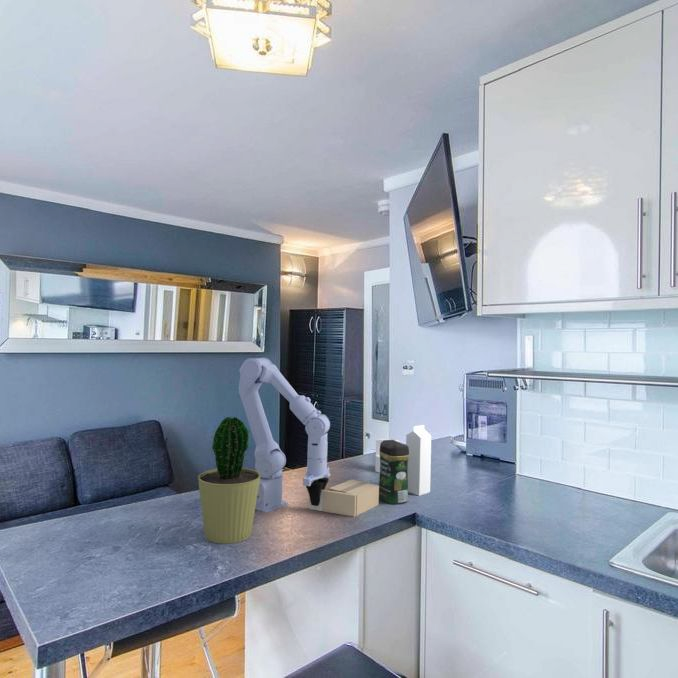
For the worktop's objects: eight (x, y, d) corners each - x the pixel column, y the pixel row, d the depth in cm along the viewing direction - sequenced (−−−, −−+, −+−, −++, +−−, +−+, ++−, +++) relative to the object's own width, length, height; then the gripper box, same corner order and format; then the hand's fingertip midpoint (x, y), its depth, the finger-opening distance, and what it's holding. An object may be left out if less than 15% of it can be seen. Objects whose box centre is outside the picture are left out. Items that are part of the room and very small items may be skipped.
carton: (356, 516, 134) (356, 494, 134) (328, 508, 140) (328, 487, 140) (378, 505, 144) (379, 485, 144) (351, 498, 150) (351, 479, 150)
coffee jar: (374, 497, 152) (375, 438, 152) (395, 494, 155) (397, 437, 155) (389, 507, 143) (391, 445, 143) (412, 503, 146) (413, 443, 146)
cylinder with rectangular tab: (372, 472, 180) (373, 441, 181) (378, 467, 189) (378, 436, 189) (396, 475, 178) (397, 443, 178) (400, 469, 186) (401, 438, 187)
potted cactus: (195, 550, 110) (199, 420, 110) (196, 525, 125) (199, 410, 125) (262, 544, 114) (266, 419, 114) (255, 520, 129) (258, 410, 129)
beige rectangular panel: (354, 516, 133) (355, 495, 133) (309, 509, 138) (309, 488, 138) (355, 515, 134) (356, 494, 134) (310, 508, 139) (311, 487, 139)
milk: (430, 492, 158) (432, 426, 158) (418, 496, 154) (421, 427, 154) (415, 488, 162) (417, 423, 163) (404, 491, 158) (406, 425, 158)
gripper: (320, 464, 130) (318, 514, 130) (339, 453, 143) (337, 498, 143) (296, 461, 132) (295, 510, 132) (317, 451, 146) (316, 495, 146)
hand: (315, 504), depth 138 cm, fingers closed
